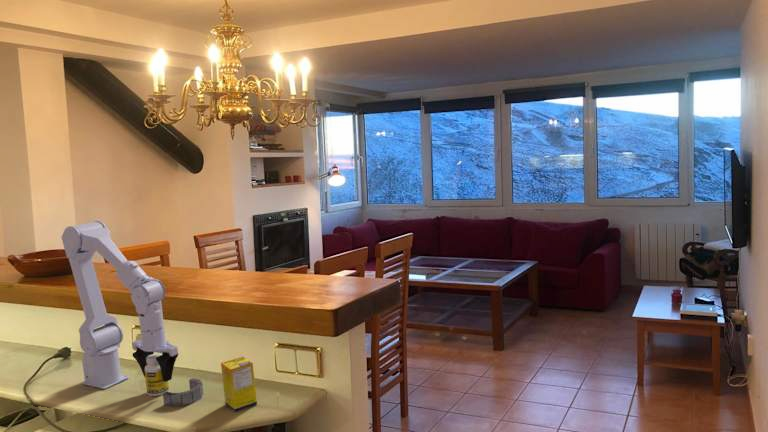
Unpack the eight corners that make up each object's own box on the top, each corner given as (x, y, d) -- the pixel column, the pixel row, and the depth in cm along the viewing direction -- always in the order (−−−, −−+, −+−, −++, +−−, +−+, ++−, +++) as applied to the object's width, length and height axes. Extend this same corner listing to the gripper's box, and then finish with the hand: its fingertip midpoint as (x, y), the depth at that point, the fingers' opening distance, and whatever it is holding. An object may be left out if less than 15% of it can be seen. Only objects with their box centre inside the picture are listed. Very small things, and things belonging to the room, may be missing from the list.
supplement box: (247, 397, 157) (242, 355, 156) (257, 404, 153) (253, 362, 151) (224, 404, 154) (220, 362, 152) (234, 412, 149) (230, 369, 148)
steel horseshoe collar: (164, 404, 156) (162, 393, 155) (193, 389, 164) (192, 378, 164) (182, 409, 153) (180, 397, 152) (211, 392, 161) (210, 381, 161)
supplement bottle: (146, 398, 160) (141, 361, 159) (148, 389, 165) (143, 354, 164) (168, 394, 162) (164, 358, 160) (169, 386, 167) (165, 351, 165)
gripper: (184, 326, 161) (190, 376, 163) (145, 320, 167) (150, 368, 170) (163, 335, 154) (169, 387, 157) (123, 328, 161) (129, 378, 163)
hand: (158, 378), depth 163 cm, fingers open, 6 cm apart
